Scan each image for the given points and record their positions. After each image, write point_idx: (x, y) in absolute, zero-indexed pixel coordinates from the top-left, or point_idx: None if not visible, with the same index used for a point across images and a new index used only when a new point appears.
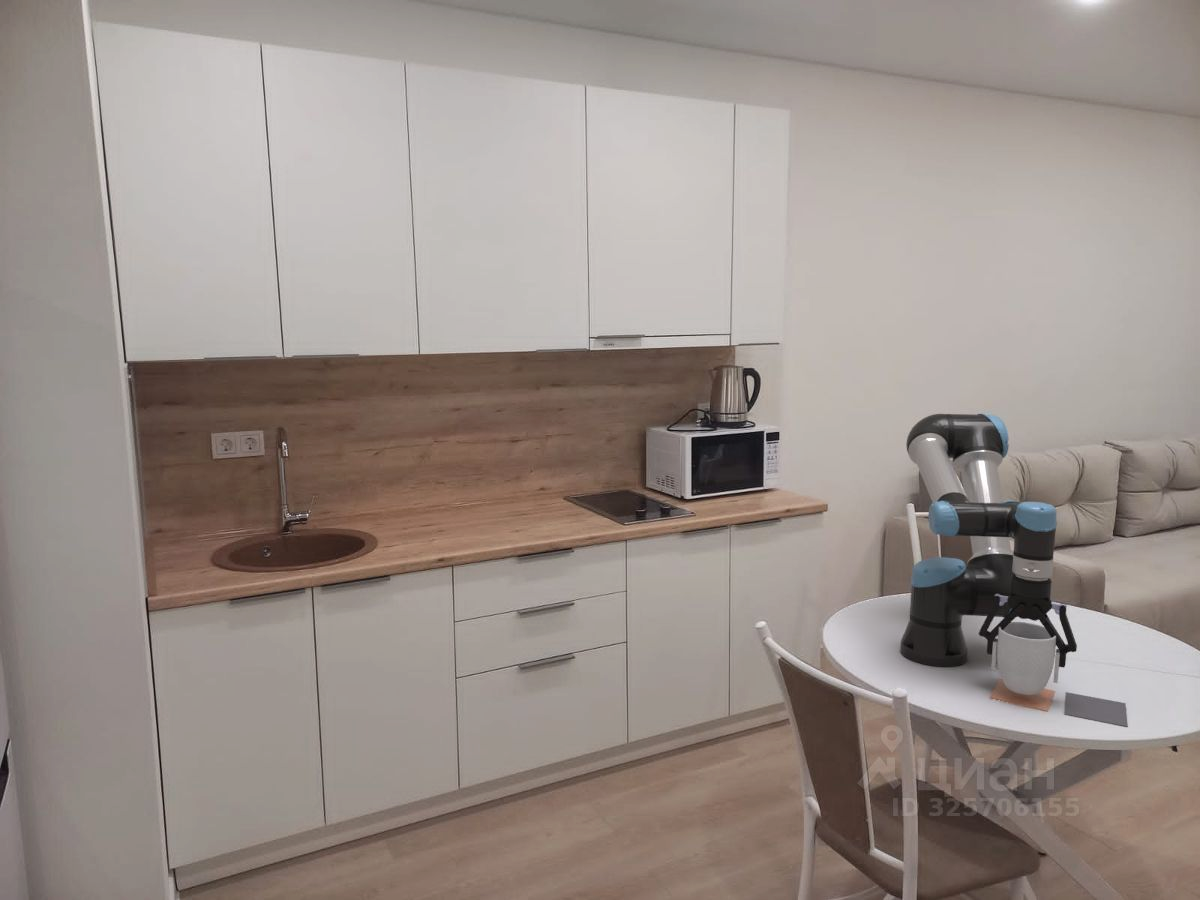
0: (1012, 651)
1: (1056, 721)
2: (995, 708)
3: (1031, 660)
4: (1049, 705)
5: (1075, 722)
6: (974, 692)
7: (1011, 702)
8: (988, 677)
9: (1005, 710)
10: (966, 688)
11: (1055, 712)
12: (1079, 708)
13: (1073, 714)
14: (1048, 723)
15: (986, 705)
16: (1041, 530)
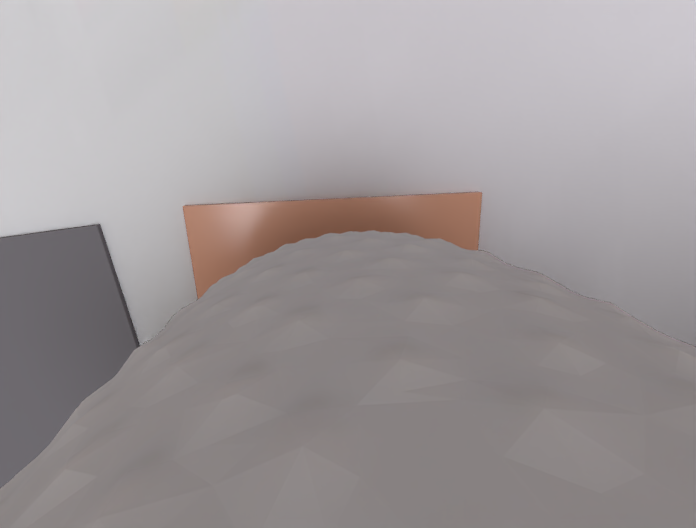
0: (666, 338)
1: (99, 93)
2: (433, 65)
3: (227, 316)
4: (197, 288)
5: (9, 151)
6: (553, 223)
7: (371, 197)
8: None
9: (380, 71)
10: (592, 249)
11: (147, 225)
12: (61, 347)
13: (55, 249)
14: (125, 26)
15: (482, 78)
16: None
